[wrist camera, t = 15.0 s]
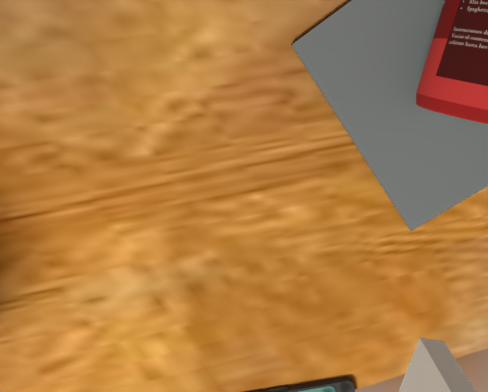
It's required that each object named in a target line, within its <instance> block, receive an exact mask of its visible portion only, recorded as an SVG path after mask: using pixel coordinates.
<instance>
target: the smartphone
mask: <svg viewBox="0 0 488 392" xmlns="http://www.w3.org/2000/svg"><path fill="white" fill-rule="evenodd" d="M254 392H355V391H354V386H353V382H352V380H351V378H349V377H342V378H336V379H330V380H325V381H319V382H313V383H307V384H301V385H295V386H289V387H288V386H282V387H276V388H271V389H266V390H265V391H263V390H259V391H254Z"/></svg>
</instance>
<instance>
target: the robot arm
mask: <svg viewBox="0 0 488 392" xmlns="http://www.w3.org/2000/svg"><path fill="white" fill-rule="evenodd" d="M399 392H476V390H475V389H474V387H473V386H472V384H471V382H470V381H469V379H468V378H467V376H466V375H465V373H464V372H463V370H462V369H461V367H460V366H459V364H458V362H457V361H456V359H455V358H454V356H453V355H452V353H451V352H450V350H449V349H448V347H447V346H446V344H445V343H444V341H439V340H432V339H425V338H419V341H418V344H417V346H416V349H415V351H414V354H413V356H412V359H411V361H410V364H409V366H408V369H407V371H406V374H405V377H404V379H403V382H402V384H401V387H400V389H399Z"/></svg>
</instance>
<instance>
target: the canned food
mask: <svg viewBox="0 0 488 392" xmlns="http://www.w3.org/2000/svg"><path fill="white" fill-rule="evenodd" d="M416 104H417V106H419V107H422V108H424V109H427V110H431V111H434V112H438V113H442V114H445V115H449V116H453V117H458V118H462V119H466V120H471V121H475V122H480V123H485V124H488V0H445V1H444V4H443V7H442V11H441V14H440V17H439V20H438V24H437V27H436V30H435V33H434V36H433V40H432V43H431V46H430V49H429V53H428V56H427V59H426V62H425V66H424V69H423V72H422V75H421V79H420V82H419V85H418V88H417V91H416Z"/></svg>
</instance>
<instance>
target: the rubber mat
mask: <svg viewBox="0 0 488 392" xmlns="http://www.w3.org/2000/svg"><path fill="white" fill-rule="evenodd" d="M444 1H445V0H351V1H350V2H348V3H347V4H346V5H344V6H343V7H341V8H340V9H339V10H337V11H336V12H335V13H333V14H332V15H331V16H329V17H328V18H326V19H325V20H324V21H322V22H321V23H320V24H318V25H317V26H316V27H314V28H313V29H312V30H310V31H309V32H307V33H306V34H305V35H303V36H302V37H301V38H299V39H298V40H297V41H295V42H294V43H293V44H291V45H292V47H293V48H294V50H295V52H296V53H297V55H298V56H299V58H300V59H301V61H302V62H303V64H304V66H305V67H306V69H307V70H308V72H309V73H310V75H311V76H312V78H313V80H314V81H315V83H316V84H317V86H318V87H319V89H320V91H321V92H322V94H323V95H324V97H325V98H326V100H327V101H328V103H329V105H330V106H331V108H332V109H333V111H334V112H335V114H336V115H337V117H338V119H339V120H340V122H341V123H342V125H343V126H344V128H345V129H346V131H347V133H348V134H349V136H350V137H351V139H352V140H353V142H354V144H355V145H356V147H357V148H358V150H359V151H360V153H361V154H362V156H363V158H364V159H365V161H366V162H367V164H368V165H369V167H370V168H371V170H372V172H373V173H374V175H375V176H376V178H377V179H378V181H379V182H380V184H381V186H382V187H383V189H384V190H385V192H386V193H387V195H388V197H389V198H390V200H391V201H392V203H393V204H394V206H395V207H396V209H397V211H398V212H399V214H400V215H401V217H402V218H403V220H404V221H405V223H406V225H407V226H408V228H409V229H410V230H411V231H412V230H414V229H415V228H417V227H419V226H420V225H422V224H424V223H426V222H427V221H429V220H431V219H432V218H434V217H436V216H437V215H439V214H441V213H443V212H444V211H446V210H448V209H449V208H451V207H453V206H454V205H456V204H458V203H460V202H461V201H463V200H465V199H466V198H468V197H470V196H471V195H473V194H475V193H477V192H478V191H480V190H482V189H483V188H485V187H487V186H488V124H485V123H480V122H475V121H471V120H466V119H462V118H458V117H453V116H449V115H445V114H442V113H438V112H434V111H431V110H427V109H424V108H422V107H419V106H417V104H416V91H417V88H418V85H419V82H420V79H421V75H422V72H423V69H424V66H425V62H426V59H427V56H428V53H429V49H430V46H431V43H432V40H433V36H434V33H435V30H436V27H437V24H438V20H439V17H440V14H441V11H442V7H443V4H444Z"/></svg>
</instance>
